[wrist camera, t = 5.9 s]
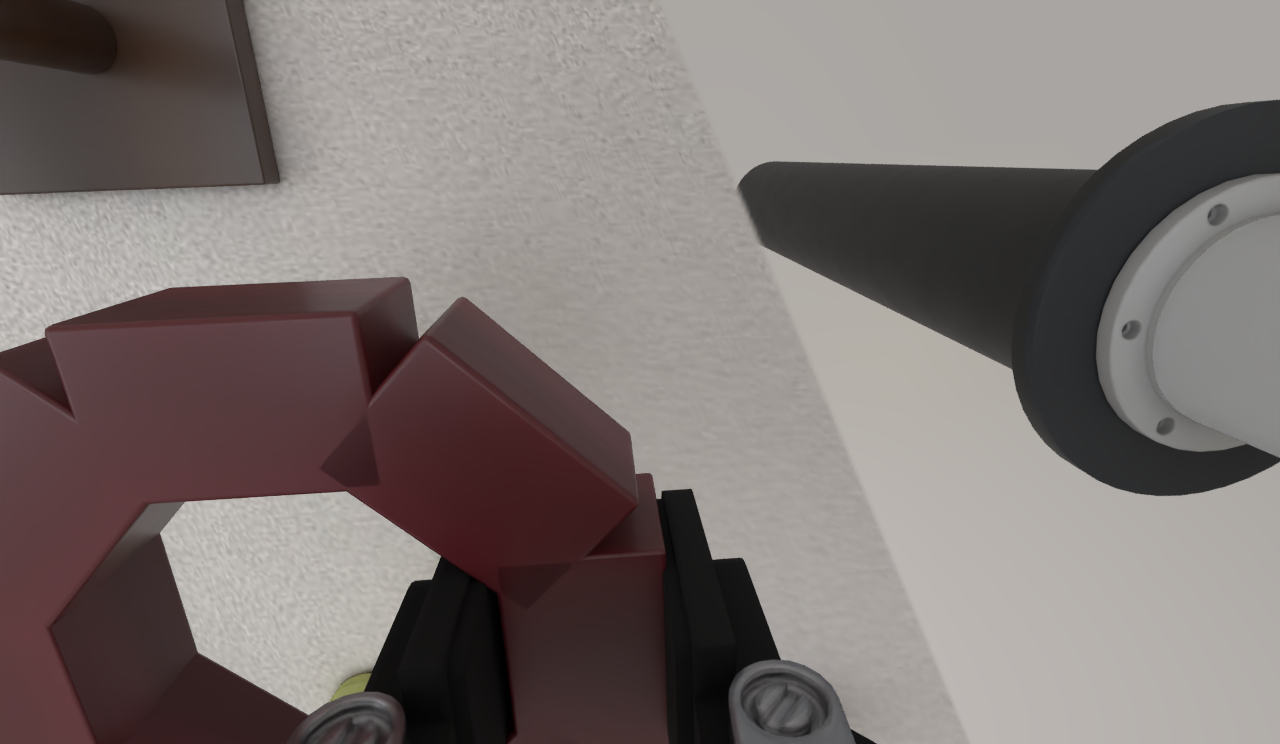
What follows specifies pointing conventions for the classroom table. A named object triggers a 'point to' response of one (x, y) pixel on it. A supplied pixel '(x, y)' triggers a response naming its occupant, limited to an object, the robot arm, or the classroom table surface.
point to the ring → (303, 464)
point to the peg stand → (129, 97)
